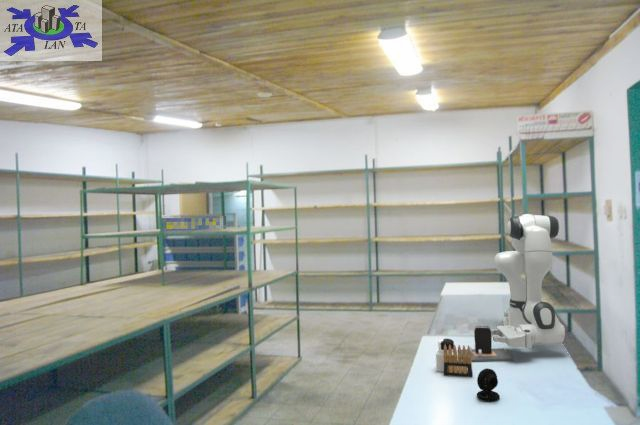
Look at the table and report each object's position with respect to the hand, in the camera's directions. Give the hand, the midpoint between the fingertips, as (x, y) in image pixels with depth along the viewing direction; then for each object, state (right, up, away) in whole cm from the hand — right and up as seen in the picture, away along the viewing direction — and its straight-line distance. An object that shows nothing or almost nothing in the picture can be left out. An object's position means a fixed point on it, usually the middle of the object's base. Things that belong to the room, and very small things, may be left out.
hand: (490, 336), depth 215 cm
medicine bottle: (-22, -10, -13) cm, 27 cm away
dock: (-3, -9, 0) cm, 9 cm away
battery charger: (-2, -8, +2) cm, 8 cm away
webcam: (-15, -11, -43) cm, 47 cm away
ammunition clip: (-19, -10, -20) cm, 30 cm away
